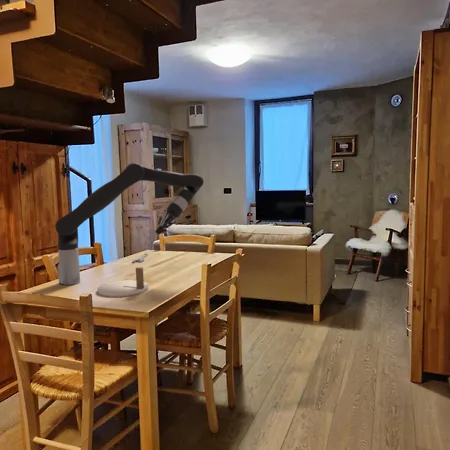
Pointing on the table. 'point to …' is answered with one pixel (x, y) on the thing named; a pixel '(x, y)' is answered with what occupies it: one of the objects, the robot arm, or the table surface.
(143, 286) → the dial
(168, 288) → the table surface
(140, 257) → the adjustable wrench
